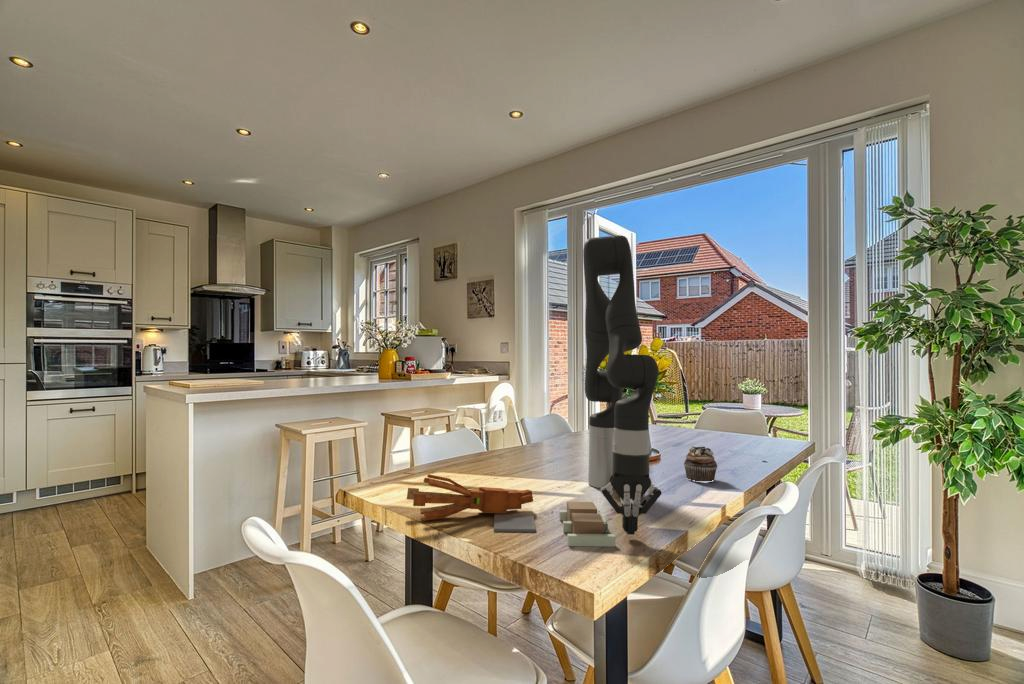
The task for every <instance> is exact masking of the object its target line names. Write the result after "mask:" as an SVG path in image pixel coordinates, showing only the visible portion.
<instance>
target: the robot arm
mask: <svg viewBox="0 0 1024 684" xmlns="http://www.w3.org/2000/svg"><path fill="white" fill-rule="evenodd" d="M582 253H583V254H582V255H583V257H582V258H583V271H584V274H583V275H584V287H585V315H584V316H585V319H584V320H585V321H584V323H585V324H584V328H585V329H584V331H585V332H584V333H585V350H586V355H585V356H586V357H585V376H584V393H585V398H586V399H587V400H588V401H589V402H595V403H610V406H608V407H607V408H606V409H604V410H602V411H600V412H599V411H598V412H594V413H593V414H591V415H589V420H588V423H589V425H588V426H589V427H588V428H589V429H588V479H587V480H588V483H587V484H588V486H590V487H593V488H598V489H599V491H600V492H601V494H602V495H603V496H604V498H605V500H606V501H608V503H609V504H610V506H611V507H612V509H614V511H615V513H616V514H618V515H622V523H621V524H622V526H621V527H622V529H623V531H624V532H625V533H626V535H634V536H635V533H636V532H638V527H639V525H638V524H639V522H638V520H639V516H640V515H642V514H644V515H645V514H647V513H648V512H649V510H650V509H651V508H652V506H653V505H654V504H655V503H656V501H658V499H659V498H660V496H662V491H661V490H660V489H659V488H658V487H657V486H654V485H653V484H652V480H651V477H650V452H651V451H650V450H651V445H650V444H651V441H650V432H649V431H650V429H649V426H650V424H649V422H650V407H651V402H652V398H653V394H654V392H655V388H656V385H657V383H658V377H659V366H658V364H657V361H656V360H655V358H654V357H653V356H651V355H648V354H625V353H626V352H629V351H633V350H635V349H637V348H639V347H640V345H641V344H642V343H643V336H642V334H643V333H642V330H641V327H640V321H639V317H638V310H637V304H636V295H635V280H634V279H635V277H634V267H633V258H632V257H633V256H632V250H631V246H630V241H629V240H628V238H627V237H626V236H625V235H612V236H611V235H609V236H598V237H589V238H587V239H586V240H585V241H584V245H583V251H582ZM610 275H611V276H612V275H619V281H618V285H617V287H616V289H615V291H614V293H613V296H611V299H610V298H609V297H608V296H607V295H606V293H605V292H604V289H603V288H602V287H601V284H600V282H599V277H601V276H610ZM606 357H608V358H607V364H606V370H600V369H599V367H600V366H601V364H602V363H603V361H604V360H605V359H606ZM623 389H636V390H635V391H634V393H633V395H632V396H630V397H628V398H623ZM613 490H614V491H615V493H616V494H617V495H618V497H619V498H620V503H621V505H620V504H618V503H617V501H616V500H615V498H614V497H613V494H614V491H613ZM646 493H647V495H645V494H646ZM644 495H645V497H643V496H644ZM642 498H643V500H642V501H641V499H642Z"/></svg>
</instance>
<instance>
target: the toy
mask: <svg viewBox="0 0 1024 684" xmlns="http://www.w3.org/2000/svg"><path fill="white" fill-rule="evenodd" d="M423 483H425V484H428V486H431V487H435V488H439V489H444V490H447V491H450V492H454V493H448V492H446V493H445V492H437V491H420V488H417V487H415V488H414V487H408V488H407V495H406V500H411V501H413V502H412V506H413V507H423V508H420V509H419V511H420V515H423V516H421V517H422V518H421V519H422V521H424V522H425V521H431V520H437V519H443V518H448V517H450V516H452V515H455V514H458V513H460V512H462V511H466V510H468V509H470V510H478V511H480V512H482V513H483V514H504V515H508V514H507V513H508V511H510V510H521V509H522V508H523V507H522V505H525V504H529V503H532V502H534V498H533V490H531V489H525V490H521V491H518V490H516V489H513V490H507V489H504V488H502V487H501V488H498V487H483V486H482V487H481V486H479V487H478V489H468V488H466V487H465V486H463V485H462V484H459V483H458V482H456V481H454V480H453V479H451V478H449V477H444V476H440V475H434V474H429V473H428V474H427V476H426V477H424V479H423ZM456 493H457V494H456ZM426 504H442V505H439V506H431V507H429V506H428V507H426ZM443 504H445V505H443Z"/></svg>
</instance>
